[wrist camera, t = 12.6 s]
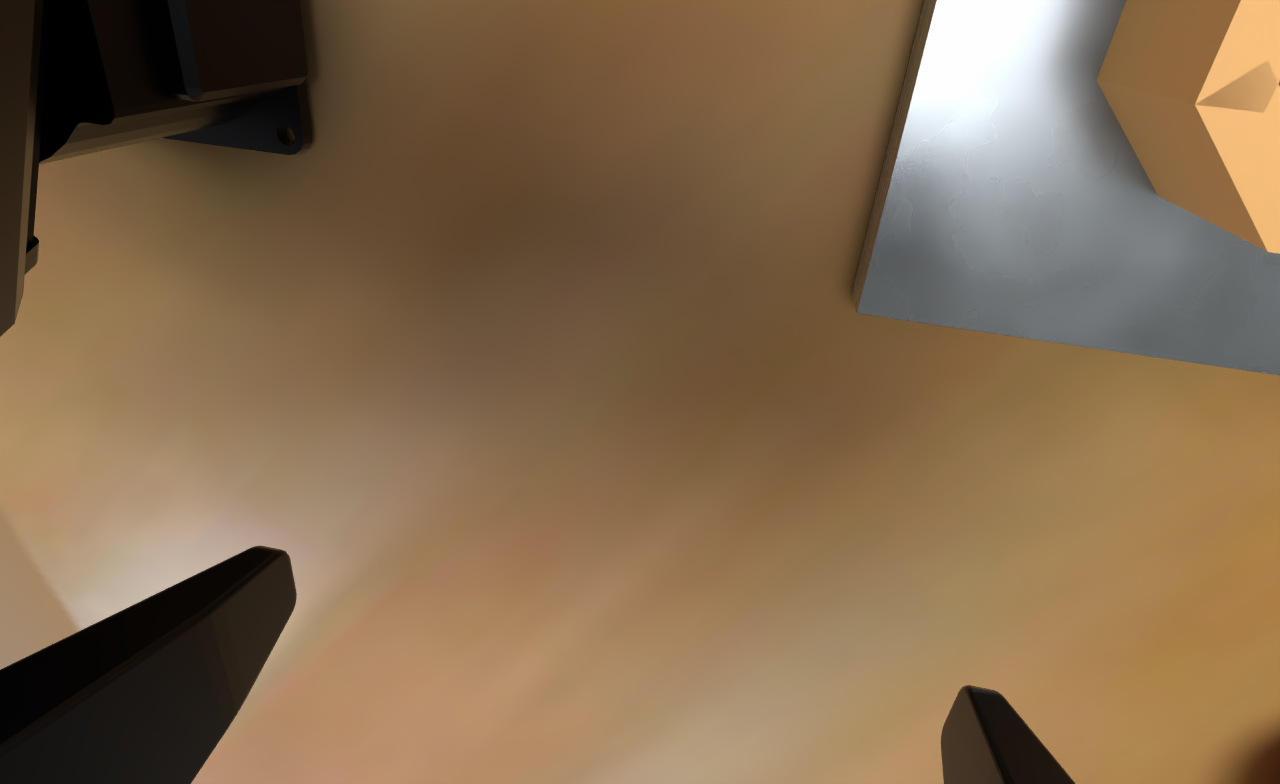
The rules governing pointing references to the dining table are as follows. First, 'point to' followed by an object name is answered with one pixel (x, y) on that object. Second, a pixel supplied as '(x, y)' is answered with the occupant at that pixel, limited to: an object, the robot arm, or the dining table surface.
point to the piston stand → (1047, 202)
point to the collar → (1203, 107)
